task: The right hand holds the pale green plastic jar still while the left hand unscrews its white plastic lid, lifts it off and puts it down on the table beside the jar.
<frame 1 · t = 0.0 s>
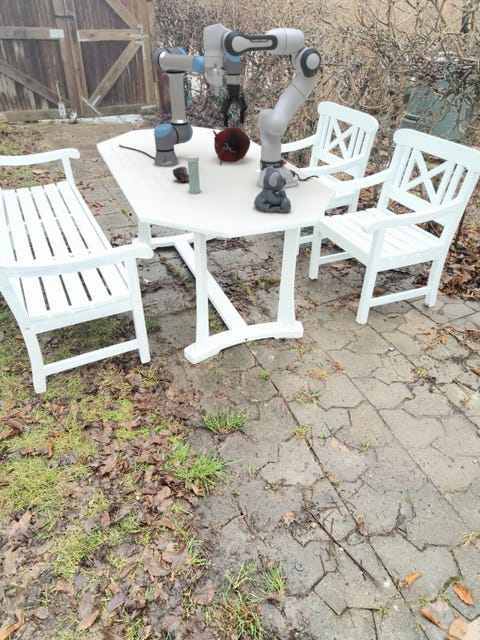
left hand: (234, 125, 259), 28 cm above the table, tool pointing down, fingers open, 13 cm apart
right hand: (214, 94, 224), 48 cm above the table, tool pointing down, fingers open, 8 cm apart
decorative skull: (231, 160, 300), on the table
rock: (182, 181, 264), on the table
koala plush: (271, 208, 227), on the table
lid: (192, 157, 238), point 19 cm above the table, screwed on, not yet turned
jar: (194, 191, 248), on the table
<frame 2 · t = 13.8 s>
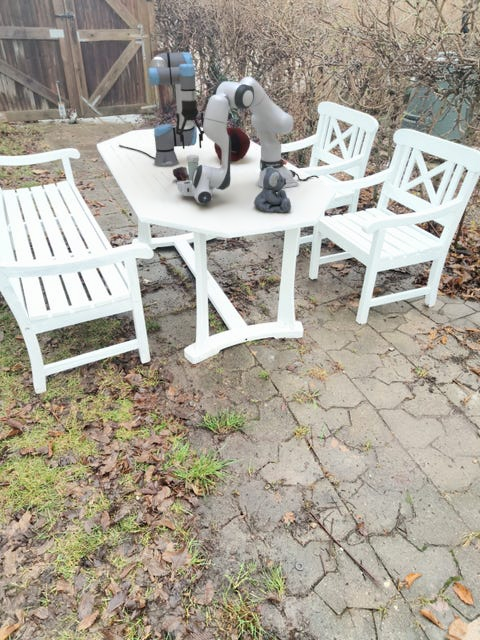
left hand: (192, 147, 235), 23 cm above the table, tool pointing down, fingers open, 8 cm apart
right hand: (193, 180, 245), 6 cm above the table, tool horizontal, fingers closed on jar, 5 cm apart
jar: (194, 191, 248), on the table, touching right hand
everything else where it was.
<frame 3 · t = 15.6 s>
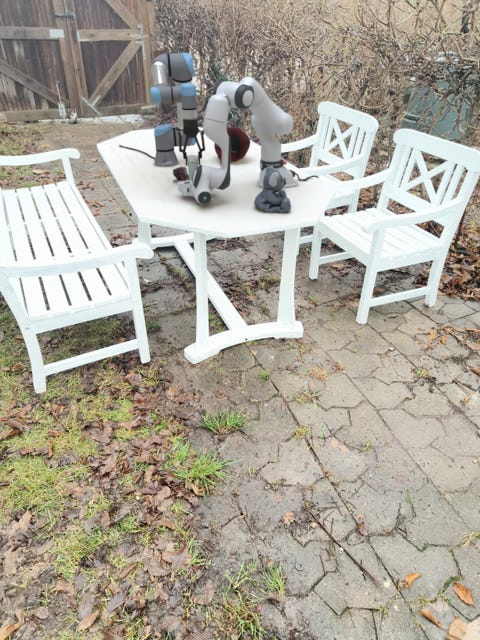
left hand: (193, 164, 240), 15 cm above the table, tool pointing down, fingers closed on lid, 6 cm apart
right hand: (193, 180, 245), 6 cm above the table, tool horizontal, fingers closed on jar, 5 cm apart
lid: (192, 157, 238), point 19 cm above the table, screwed on, not yet turned, touching left hand
jar: (194, 191, 248), on the table, touching right hand
everything else where it was.
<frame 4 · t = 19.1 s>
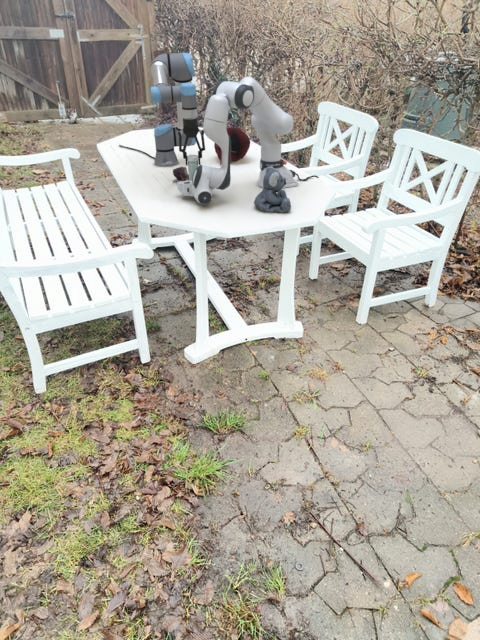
left hand: (193, 164, 240), 15 cm above the table, tool pointing down, fingers closed on lid, 6 cm apart
right hand: (193, 180, 245), 6 cm above the table, tool horizontal, fingers closed on jar, 5 cm apart
lid: (192, 156, 237), point 19 cm above the table, turned 118° so far, risen 0.2 cm, still on its thread, touching left hand
jar: (194, 191, 248), on the table, touching right hand
everything else where it was.
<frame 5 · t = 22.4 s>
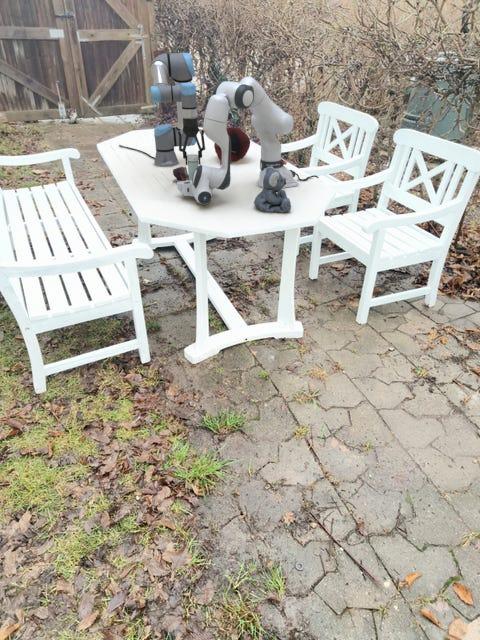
left hand: (193, 164, 240), 15 cm above the table, tool pointing down, fingers closed on lid, 6 cm apart
right hand: (193, 180, 245), 6 cm above the table, tool horizontal, fingers closed on jar, 5 cm apart
lid: (192, 156, 237), point 19 cm above the table, turned 236° so far, risen 0.4 cm, still on its thread, touching left hand
jar: (194, 191, 248), on the table, touching right hand
everything else where it was.
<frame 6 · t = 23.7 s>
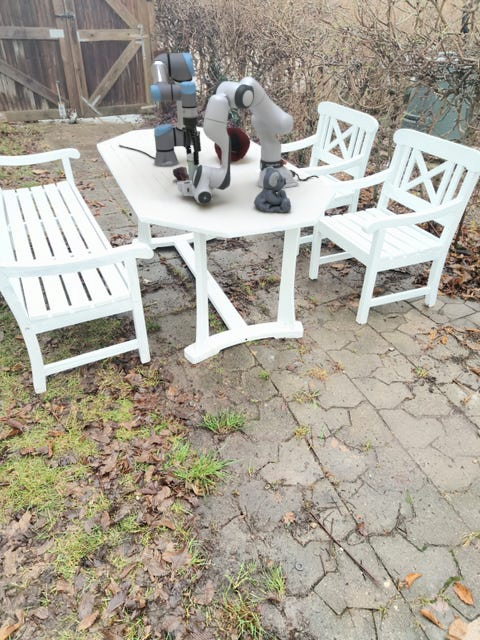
left hand: (193, 163, 239), 16 cm above the table, tool pointing down, fingers closed on lid, 6 cm apart
right hand: (193, 180, 245), 6 cm above the table, tool horizontal, fingers closed on jar, 5 cm apart
lid: (192, 155, 237), point 20 cm above the table, off its thread, touching left hand
jar: (194, 191, 248), on the table, touching right hand
everything else where it was.
when the left hand's fingers open (0 cm above the table, at t = 29.5 s): lid drops 2 cm, point 2 cm above the table.
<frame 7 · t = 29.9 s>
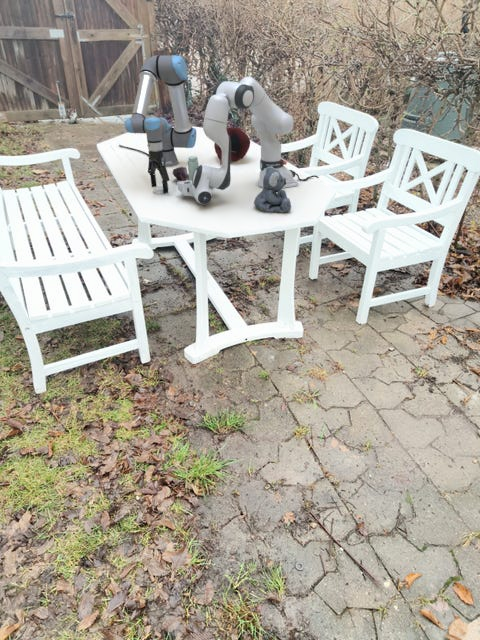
left hand: (159, 189, 248), 1 cm above the table, tool pointing down, fingers open, 13 cm apart
right hand: (193, 180, 245), 6 cm above the table, tool horizontal, fingers closed on jar, 5 cm apart
lid: (159, 188, 248), point 2 cm above the table, off its thread
jar: (194, 191, 248), on the table, touching right hand
everything else where it was.
when the right hand's fingers open (6 cm above the table, at t = 30.7 s): jar stays where it is, on the table.
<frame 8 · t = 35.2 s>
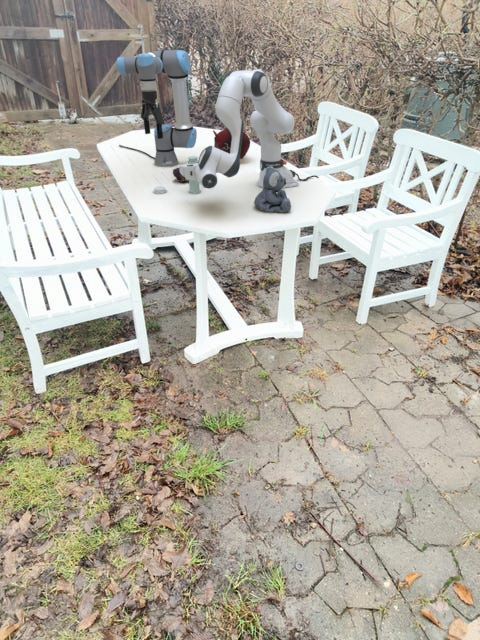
left hand: (154, 136, 232), 29 cm above the table, tool pointing down, fingers open, 13 cm apart
right hand: (197, 164, 227), 18 cm above the table, tool horizontal, fingers open, 8 cm apart
jar: (194, 191, 248), on the table
everything else where it was.
at the end: lid came off its thread; lid point 1.7 cm above the table; the left hand is holding nothing; the right hand is holding nothing; jar tilted 0°; jar moved 0.1 cm from its start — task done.
